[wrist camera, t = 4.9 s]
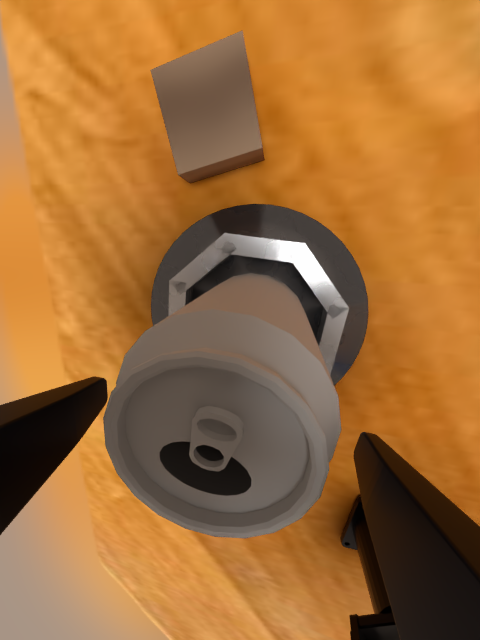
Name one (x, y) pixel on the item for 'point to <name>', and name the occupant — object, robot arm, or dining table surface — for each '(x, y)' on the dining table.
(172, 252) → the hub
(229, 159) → the walnut block
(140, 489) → the can
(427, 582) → the robot arm
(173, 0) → the dining table surface
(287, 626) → the dining table surface
